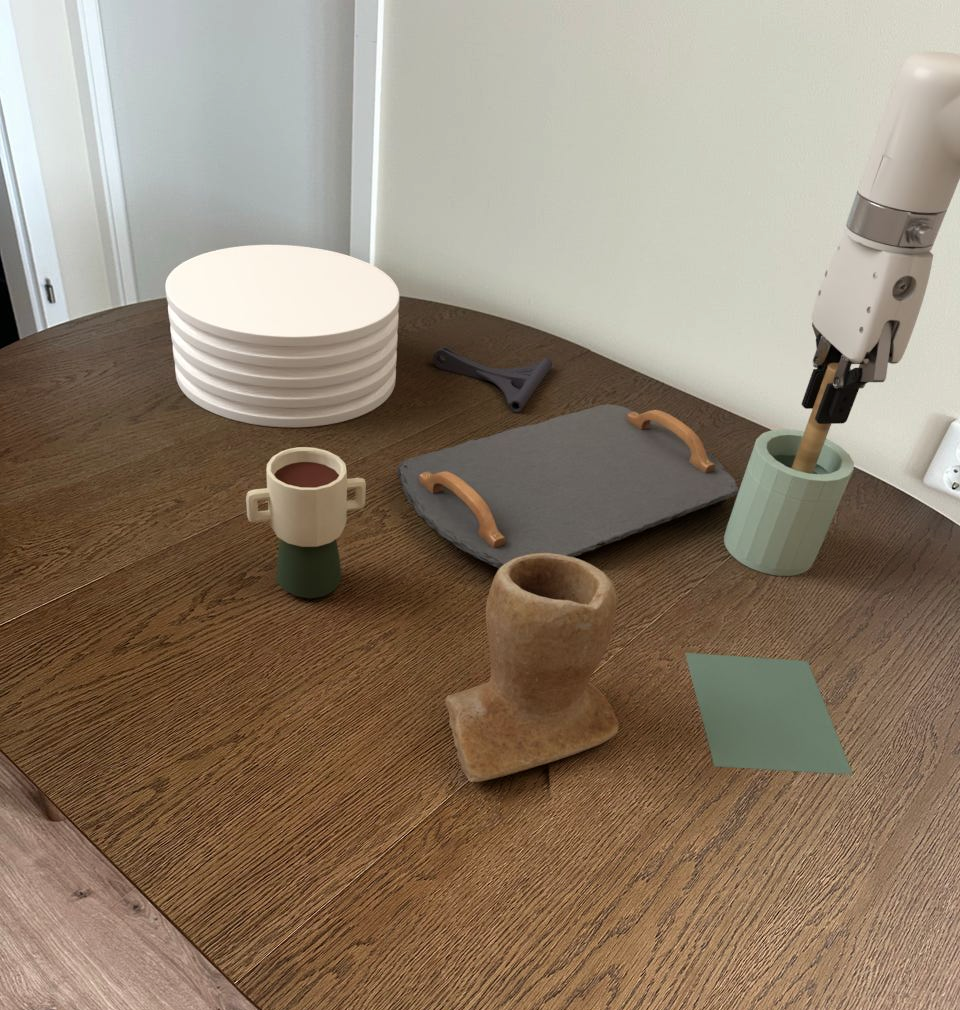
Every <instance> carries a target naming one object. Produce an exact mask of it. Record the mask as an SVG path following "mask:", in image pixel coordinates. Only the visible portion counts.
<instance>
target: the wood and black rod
mask: <svg viewBox="0 0 960 1010" xmlns="http://www.w3.org/2000/svg"><path fill="white" fill-rule="evenodd" d="M838 365H839V363H830V364H829V365H828V367H827V370H826V373H825V375H824V378H823V381H822V384H821V387H820V389H819V392H818V395H817V398H816V401H815V403H814V406H813V409H811V412H810V414H809V418H808V421H807V423H806V426H805V429H804V430H803V431H804V434H803V437H802V440H801V443H800V445H799V448H798V451H797V454H796V457H795V459H794V462H793V465H785V466H786V467H789V468H791V469H794V470H796V471H801V472H805V473H809V474H817V473H816V472H815V471H814V469H815V466H816V464H817V461H818V458H819V456H820V453H821V450H822V448H823V445H824V442H825V440H826V439H827V437H828V435H829V431H830V429H831V426H832V424H819V423H817V422H816V420H815V417H816V414H817V411H818V408H819V405H820V403H821V400H822V397H823V394H824V392H825V389H826V386H827V384H828V383H833V379H834V376H835V373H836V370H837V367H838ZM850 370H852V368H850ZM850 370H849V371H850Z"/></svg>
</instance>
